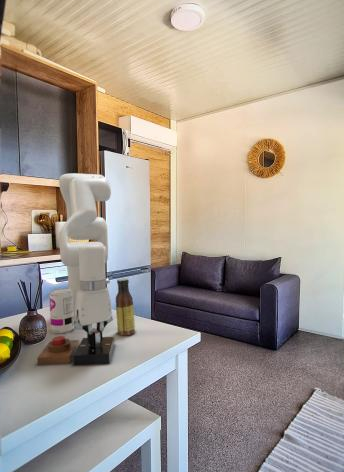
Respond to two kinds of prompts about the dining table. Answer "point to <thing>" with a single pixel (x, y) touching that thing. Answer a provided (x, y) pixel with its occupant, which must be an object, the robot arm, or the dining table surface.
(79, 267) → the robot arm
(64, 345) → the button block
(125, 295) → the sauce bottle
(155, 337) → the dining table surface
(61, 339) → the button
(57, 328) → the supplement can
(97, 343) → the grey flat block
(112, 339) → the switch base
